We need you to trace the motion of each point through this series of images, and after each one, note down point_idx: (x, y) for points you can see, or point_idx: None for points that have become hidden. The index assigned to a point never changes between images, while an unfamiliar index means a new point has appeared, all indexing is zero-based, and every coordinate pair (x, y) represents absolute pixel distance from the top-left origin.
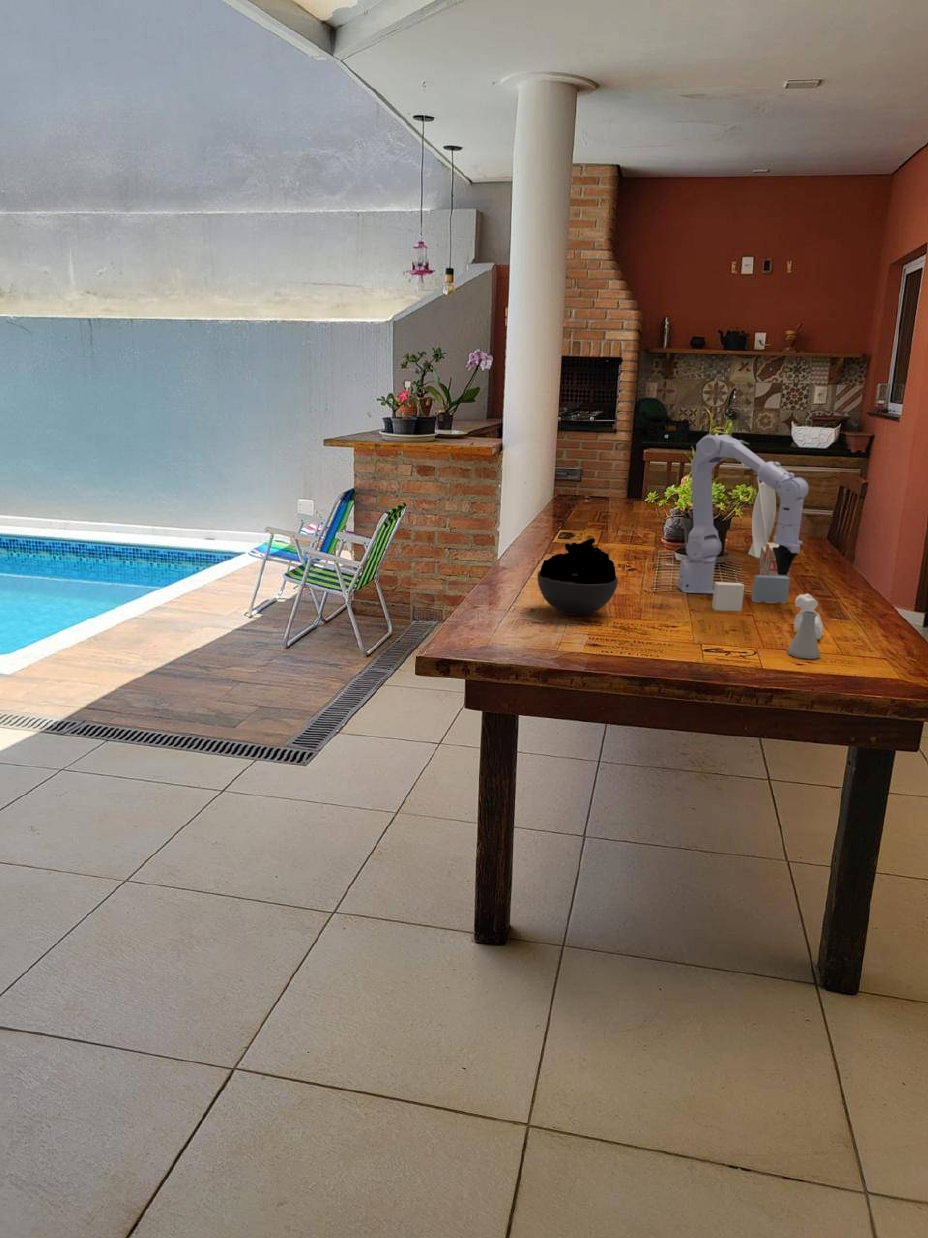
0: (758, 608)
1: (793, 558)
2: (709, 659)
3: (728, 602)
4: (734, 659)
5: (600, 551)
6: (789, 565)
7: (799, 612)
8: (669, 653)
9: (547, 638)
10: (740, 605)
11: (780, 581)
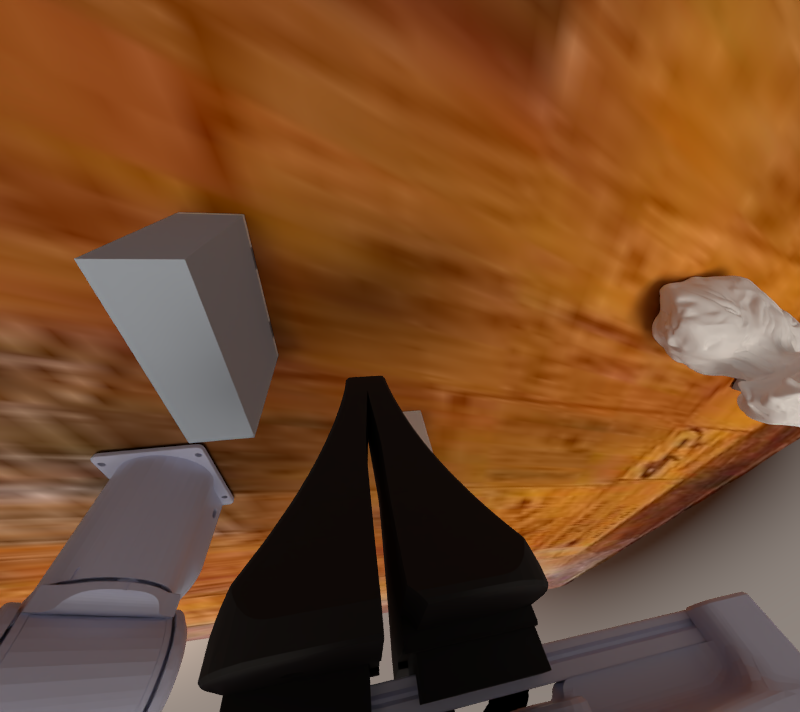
0: (377, 362)
1: (462, 487)
2: (677, 474)
3: None
4: (698, 453)
5: (527, 697)
6: (408, 430)
7: (723, 375)
8: (632, 501)
9: None
10: (424, 427)
11: (220, 318)
